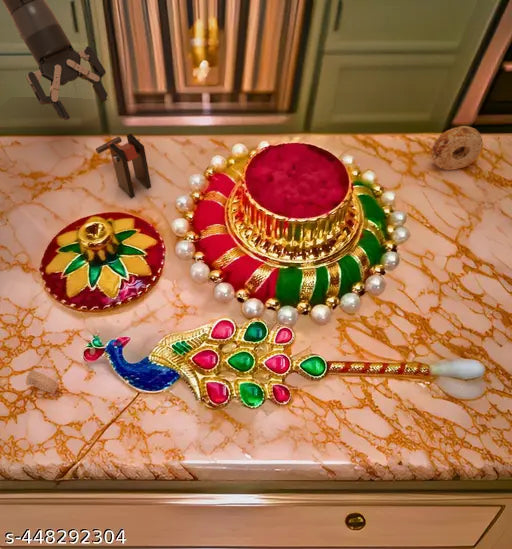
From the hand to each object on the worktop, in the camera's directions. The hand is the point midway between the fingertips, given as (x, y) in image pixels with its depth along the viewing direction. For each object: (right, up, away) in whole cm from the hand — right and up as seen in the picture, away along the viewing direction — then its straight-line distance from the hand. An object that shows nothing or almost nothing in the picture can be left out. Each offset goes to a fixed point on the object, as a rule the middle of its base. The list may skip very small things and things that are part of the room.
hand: (86, 110), depth 115 cm
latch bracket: (+9, -16, +4) cm, 18 cm away
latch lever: (+7, -9, -2) cm, 12 cm away
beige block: (-1, -52, -20) cm, 55 cm away
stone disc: (+76, -9, +11) cm, 78 cm away
